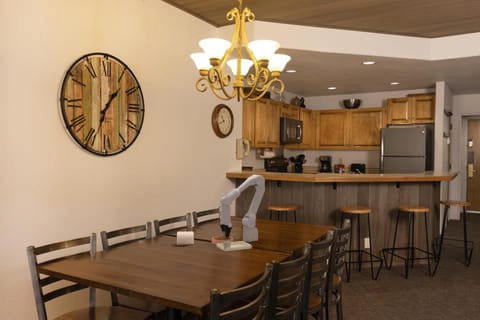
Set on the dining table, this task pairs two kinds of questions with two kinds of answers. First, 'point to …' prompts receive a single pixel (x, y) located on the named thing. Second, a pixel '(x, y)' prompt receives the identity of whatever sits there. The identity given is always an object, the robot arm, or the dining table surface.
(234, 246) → the tray
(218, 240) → the bowl
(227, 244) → the pebble
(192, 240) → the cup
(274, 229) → the dining table surface
